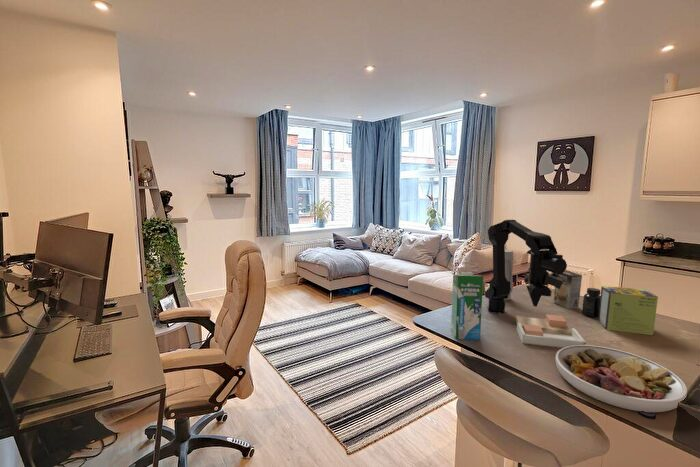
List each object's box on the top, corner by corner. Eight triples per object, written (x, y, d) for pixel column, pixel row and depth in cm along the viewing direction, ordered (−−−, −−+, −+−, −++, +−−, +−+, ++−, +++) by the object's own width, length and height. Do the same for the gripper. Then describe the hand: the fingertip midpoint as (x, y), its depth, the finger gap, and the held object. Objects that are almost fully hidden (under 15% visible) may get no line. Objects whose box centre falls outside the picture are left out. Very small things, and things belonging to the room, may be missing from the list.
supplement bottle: (604, 318, 148) (607, 291, 146) (588, 318, 148) (591, 291, 146) (593, 312, 155) (596, 286, 153) (578, 312, 155) (580, 286, 153)
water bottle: (491, 297, 176) (494, 249, 172) (504, 295, 178) (507, 248, 175) (504, 303, 167) (507, 253, 164) (517, 301, 170) (521, 252, 166)
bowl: (562, 349, 121) (564, 329, 120) (678, 380, 103) (682, 355, 101) (546, 389, 98) (548, 363, 97) (692, 437, 80) (696, 406, 78)
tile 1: (525, 336, 130) (525, 330, 130) (522, 330, 136) (522, 324, 136) (543, 338, 129) (543, 332, 128) (539, 331, 134) (539, 325, 134)
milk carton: (473, 329, 137) (476, 269, 134) (480, 340, 129) (483, 275, 125) (450, 329, 138) (453, 269, 135) (455, 339, 129) (458, 275, 126)
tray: (522, 343, 126) (522, 335, 125) (516, 329, 137) (517, 322, 137) (585, 350, 120) (585, 342, 119) (574, 336, 131) (574, 328, 131)
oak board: (519, 330, 137) (519, 325, 136) (515, 320, 146) (515, 316, 146) (571, 335, 131) (571, 331, 131) (563, 325, 141) (563, 321, 141)
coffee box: (552, 302, 168) (555, 270, 165) (563, 301, 169) (566, 270, 167) (568, 309, 159) (571, 275, 156) (579, 308, 160) (582, 274, 158)
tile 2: (549, 325, 136) (549, 319, 136) (545, 320, 142) (545, 314, 141) (566, 327, 134) (566, 321, 134) (561, 321, 140) (562, 315, 140)
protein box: (653, 335, 131) (659, 296, 129) (606, 330, 136) (610, 292, 134) (641, 324, 141) (645, 288, 139) (597, 320, 146) (600, 285, 144)
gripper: (569, 275, 119) (565, 317, 122) (555, 263, 137) (552, 300, 139) (534, 272, 123) (530, 314, 125) (524, 261, 140) (522, 297, 143)
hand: (535, 306), depth 133 cm, fingers closed
